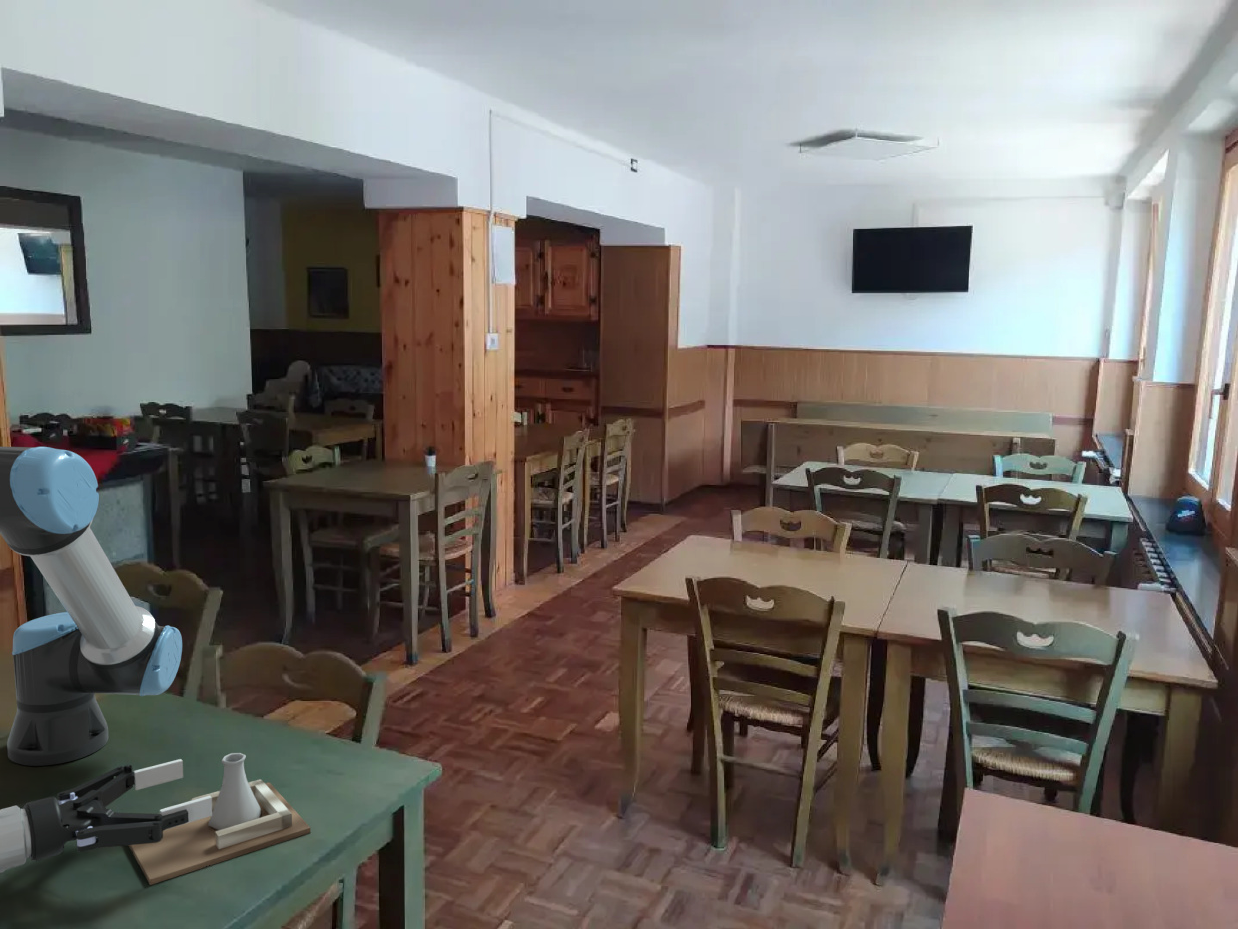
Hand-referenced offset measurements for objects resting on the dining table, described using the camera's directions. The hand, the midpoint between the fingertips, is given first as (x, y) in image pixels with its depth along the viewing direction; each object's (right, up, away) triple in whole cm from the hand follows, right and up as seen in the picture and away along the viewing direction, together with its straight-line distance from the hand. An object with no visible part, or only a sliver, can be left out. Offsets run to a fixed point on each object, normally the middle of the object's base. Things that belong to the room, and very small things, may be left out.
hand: (196, 786), depth 137 cm
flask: (+4, -7, +5) cm, 9 cm away
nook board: (+1, -8, +3) cm, 8 cm away
